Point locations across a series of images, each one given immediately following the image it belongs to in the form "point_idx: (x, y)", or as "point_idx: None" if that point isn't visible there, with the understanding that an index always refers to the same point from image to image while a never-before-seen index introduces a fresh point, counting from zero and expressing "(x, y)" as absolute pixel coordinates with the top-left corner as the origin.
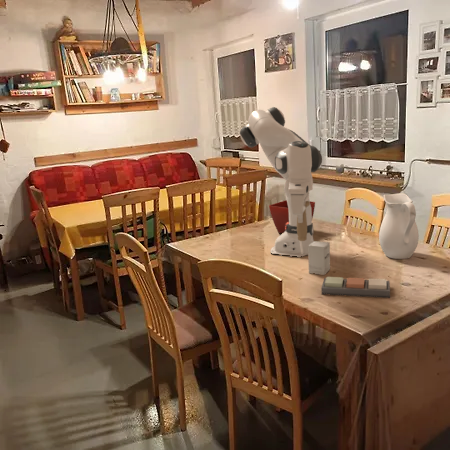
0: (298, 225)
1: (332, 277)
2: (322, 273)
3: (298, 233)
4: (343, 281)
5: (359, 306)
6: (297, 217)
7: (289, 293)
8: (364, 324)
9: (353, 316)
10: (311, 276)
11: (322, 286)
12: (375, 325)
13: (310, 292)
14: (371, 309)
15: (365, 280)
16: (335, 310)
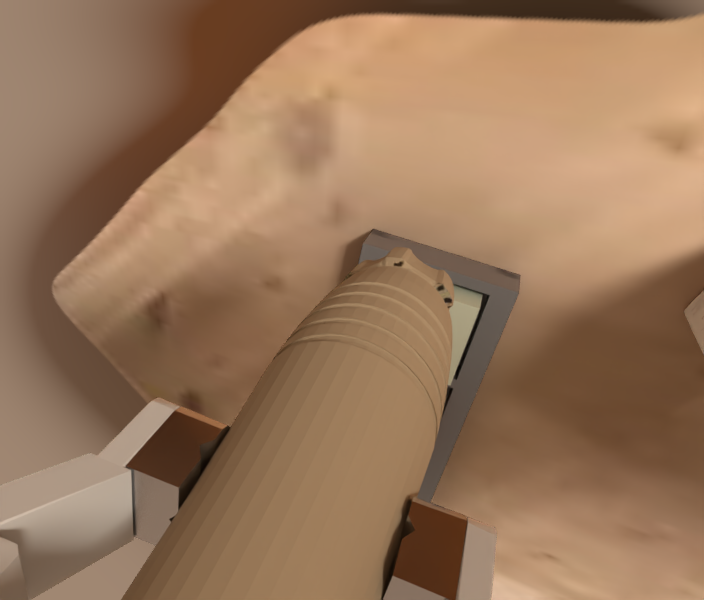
0: (269, 367)
1: (461, 335)
2: (694, 304)
3: (333, 291)
4: (459, 372)
5: (239, 348)
6: (224, 474)
7: (408, 35)
8: (102, 316)
9: (154, 301)
10: (691, 225)
11: (385, 253)
12: (102, 345)
13: (407, 174)
14: (216, 377)
15: (436, 460)
16: (197, 250)
